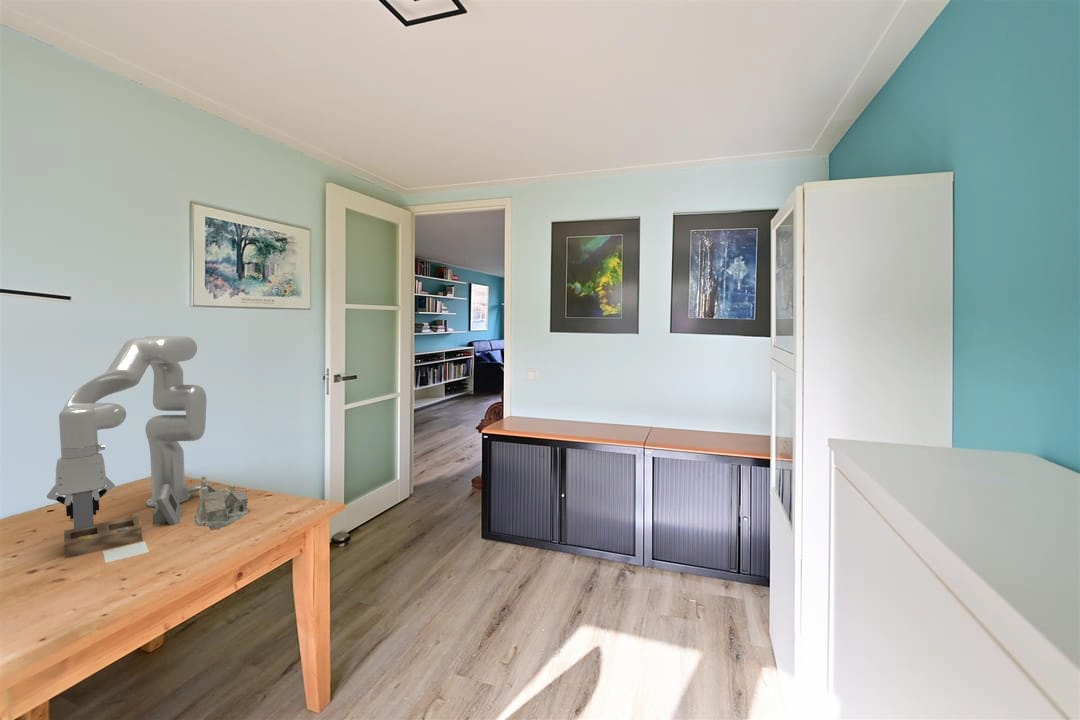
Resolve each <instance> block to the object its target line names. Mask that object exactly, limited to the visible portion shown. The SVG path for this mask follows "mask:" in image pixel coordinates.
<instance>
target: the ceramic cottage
mask: <svg viewBox="0 0 1080 720" xmlns="http://www.w3.org/2000/svg"><path fill="white" fill-rule="evenodd" d="M200 480H201V481H200V482H201V489H200V490H199V491H198V492H197V494H198V495H199V503H198V506H197V512H196V514H195V516H194V517H193V519H194V524H195V525H196V526H198V527H208V528H209V529H210V530H215V529H220V528H223V527H225V526H226V527H227V526H229V525H231V524H233V523H234V522H236V521H238V520H239V519H241V517H242V518H243V517H245V516H247V515H248V514H249V513H250V512H249V509H248V508H247V507H248V503H249V500H248V497H247V492H246V490H245V489H242V490H236V485H235V484H231V485H230V486H229V487H230V489H229V488H227V487H223V488H219V489H217V488H216V487H214V486H212V485H210V484H209V483H208V481H207V478H206V476H205V475H203V476H201V478H200ZM248 512H249V513H248ZM246 514H247V515H246ZM244 515H245V516H244Z"/></svg>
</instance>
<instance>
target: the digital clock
mask: <svg viewBox="0 0 1080 720" xmlns="http://www.w3.org/2000/svg"><path fill="white" fill-rule="evenodd" d="M156 502H157V505H156V507H154V510H153V514H152V525H157V524H164V523H165V524H166V523H168V525H170V526H174V525H178V524H179V523H180V522H181V517H182V514H183V508H182V507H183V506H181V503H179V502H178V500H177V498H176V496H175V494H174V493H173V491H172V489H171V487H170V485H168V484H164V485H163V486H162V487H161V488H160V490H159V493H158V496H157V499H156Z"/></svg>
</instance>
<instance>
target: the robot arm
mask: <svg viewBox="0 0 1080 720" xmlns="http://www.w3.org/2000/svg"><path fill="white" fill-rule="evenodd" d="M197 352H198V344H197V343H196V341H195V340H194V339H193V338H192V337H189V336H182V335H181V336H178V335H175V336H174V335H151V336H145V337H136V338H135V337H134V338H131V339H129V340H127V341H126V342H125V343H124V344H123V346H122V347H121V348H120V350H119V352H118V353H117V355H116V357H114V359H113V361H112V362H111V364H110V365H109V367H108V369H107V370H106V371H105V372H104V373H102V374H100V375H97V376H96V377H94V378H92V379H91V380H89V381H87V382H86V383H84V384H82V385H81V386H80V387H78V388H77V389H75V391H74V392H73V393H72V394H71V395H70V397H69V399H68V400H67V402H66V403H65V405H64V407H63V409H62V410H61V411H60V412H59V416H58V420H59V421H58V424H59V438H60V439H59V441H60V457H59V458H57V461H56V466H55V484H54V486H53V487H52V488H51V489H50V491H49V492H48V493H47V495H46V498H47V499H49V500H52V501H57V502H58V503H60V504H63V505H64V506H65V512H66V513H65V514H66V517H69V519H70V520H73V501H72V494H76V493H82V492H88V491H92V500H93V516H96V515H97V511H100V499H101V498H102V497H103V496H105V495H106V494H107V493H108V492H110V491H111V490H112V489H114V488H115V487H116V484H115V483H114V482H113V481H112V480H111V479H109V478H108V477H107V476H106V475H107V474H106V468H105V466H106V465H105V460H104V456H103V453H101V451H104V450H106V445H105V444H99V439H98V438H99V437H98V431H99V430H110V429H114V428H116V427H119V426H120V425H122V424H123V423H124V422H125V419H126V417H127V412H126V408H124V406H122V405H120V404H117V403H113V402H98V401H99V400H101V399H102V398H106V397H107V396H109V395H110V396H111V395H112V394H116V393H119V392H122V391H126V390H129V389H131V388H133V387H135V386H137V385H138V384H139V383H140V381H141V379H142V377H143V376H144V374H145V372H146V370H147V369H148V368H149V366H151V369H152V371H153V372H152V373H153V387H152V388H153V391H152V405H153V407H154V408H155V409H156V410H157V411H161V412H164V411H165V412H185V414H160V415H156V416H153V417H150V419H149V420H148V421H147V422H146V424H145V426H144V427H145V428H144V429H145V435H146V439H147V443H148V445H149V446H148V447H149V452H150V453H149V455H150V457H149V458H150V473H151V474H150V477H151V498H148V499H147V500H146V506H148V507H150V508H151V507H152V508H155V507H156V505H157V502H156V499H157V496H158V493H159V490H160V488H161V487H162V486H163V485H164V484H168V485H170V487H171V489H172V491H173V493H174V494H175V496H176V498H177V500H178V502H179V503H180V504H181V503H185V502H187V501H189V500H190V499H191V493H198V491H199V490H200V489H201V488H202V486H201V485H198V486H196V485H192V486H187V485H186V483H185V482H186V481H185V480H186V479H185V458H184V457H185V452H184V449H183V447H182V445H181V444H180V442H195V441H198V440H200V439H201V438H202V437H203V436H204V434H205V430H206V420H207V393H206V392H205V389H204V388H203V387H202V386H201V385H199V384H198V385H197V384H185V383H184V370H183V368H182V366H181V365H180V362H186V361H190V360H191V359H193V358H194V357H195V356H196V354H197Z"/></svg>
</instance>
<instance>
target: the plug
mask: <svg viewBox="0 0 1080 720" xmlns="http://www.w3.org/2000/svg"><path fill="white" fill-rule="evenodd" d="M92 499H93V493H92V491H88V492H82V493H76V494H72V499H71V501H72V503H73V519H72V520H73V529H74V531H75V530H80V529H84V528H89V527H94V525H95V524H94V523H95V522H94V521H95V520H94V515H93V500H92Z"/></svg>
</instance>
